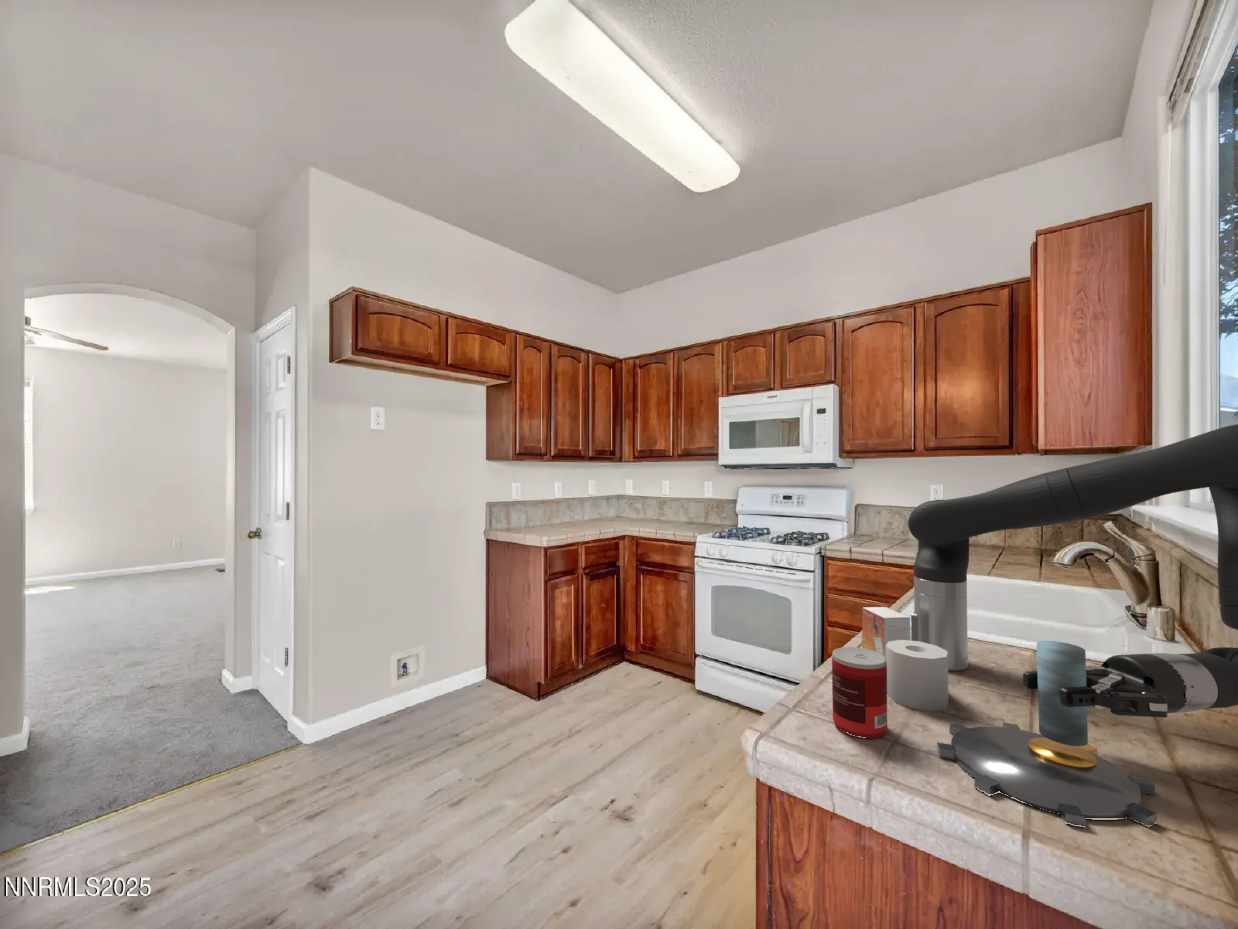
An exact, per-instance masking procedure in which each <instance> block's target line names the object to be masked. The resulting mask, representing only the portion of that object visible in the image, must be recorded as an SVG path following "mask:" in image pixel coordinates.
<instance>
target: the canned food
mask: <svg viewBox="0 0 1238 929" xmlns="http://www.w3.org/2000/svg"><path fill="white" fill-rule="evenodd" d="M831 677H832V678H831V682H832V684H831V687H832V688H831V690H832V693H831V694H832V696H831V697H832V698H831V699H832V701H831V702H832V720H833V723H835V724H834V725H836V726H837V727H838V728H839V729H841V730H842V731H844V732H848V733H849V734H852V735H855V736H861V737H866V738H876V739H878V738H877V737H879V738H881V737H880V736H882V737H883V736H884V735H885V734H886V732H887V729H888V696H887V662H886V658H885V657H884V656H883V655H882V654H880V653H878V652H875V651H872V650H869V649H864V648H862V647H858V646H857V647H856V646H846V647H845V646H843V647H839V648H835V649H834V650H833V651H832V654H831ZM836 726H835V727H836ZM837 727H836V728H837ZM838 728H837V729H838ZM839 729H838V730H839ZM841 730H840V731H841ZM842 731H841V732H842ZM844 732H843V733H844Z"/></svg>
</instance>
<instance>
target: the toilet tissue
mask: <svg viewBox="0 0 1238 929" xmlns="http://www.w3.org/2000/svg"><path fill="white" fill-rule="evenodd" d="M886 662H887V695H888V696H887V698H889V697H890V698H892V700H891V701H893V700H894V701H893V702H894V703H895V702H897V703H899V704H898V705H900V704H901V706H903V705H905V706H904V707H906V706H907V708H909V709H912V710H917V711H925V712H926V711H927V712H938V711H942V710H947V709H948V708H949V707H948V706H949V697H950V692H949V691H950V690H949V689H950V688H949V670H948V651H946V650H944V649H942V648H940V647H938V646H936V645H932V644H928V643H924V642H919V641H911V640H910V641H909V640H896V641H889V642H888V643H887V645H886ZM890 698H889V699H890ZM897 703H896V704H897Z"/></svg>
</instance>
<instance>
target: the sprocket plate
mask: <svg viewBox="0 0 1238 929" xmlns="http://www.w3.org/2000/svg"><path fill="white" fill-rule="evenodd" d="M948 726H949V730H948V731H949V734H950V733H951V734H950V735H952V734H953V736H952V737H951V744H950V743H949V744H948V743H944V742H943V743H942V742H936V744H937V745H936V752H937V754H938V757H939V758H940V757H941V759H945V758H948V759H947V760H951V759H954V760H953V761H954V762H955V761H956V762H957V763H958V764H957V763H956V762H955V763H956V764H957V765H958V766H960V767H961V768H960V767H959V768H960V769H961V770H962V771H963V772H965V773H966V774H967V773H968V774H970V775H971V776H972V777H974V778H975V779H974V778H973V779H974V788H975V787H978V788H979V789H980V790H983V791H985V792H986V793H988V794H994V793H996V792H998V791H1000V792H1001V793H1003V794H1006V795H1008V796H1009V797H1014V798H1016V799H1018V800H1020V801H1023V802H1025V803H1027V804H1030V805H1032V806H1034V807H1037V808H1041V809H1044V810H1047V811H1051V812H1054V813H1059V814H1060V815H1061V817H1062V818H1063V820H1064V821H1065V822H1067V823H1071V824H1074V825H1081V826H1086V827H1087V821H1086V818H1126V817H1127V819H1128V818H1132V819H1134V820H1136V821H1138V822H1140V823H1143V824H1144V825H1148V826H1149V825H1153V824H1154V823H1155V822H1157V823H1158V813H1157V812H1156V811H1153V810H1151V809H1149V808H1148V807H1144V806H1143V805H1142V795H1147V794H1150V795H1149V796H1154V795H1155V796H1156V794H1155V793H1156V787H1155V785H1154V784H1153V783H1152V781H1150V779H1148V778H1147V777H1144V776H1137V775H1133V774H1128V773H1127V772H1126V771H1125V770H1123V769H1122V768H1120V767H1118V766H1117V765H1116V764H1114V763H1112V762H1111V761H1109V760H1108V759H1106V758H1104V757H1102V756H1100V755H1098V747H1095V746H1092V745H1090V744H1089V743H1088V744H1087V745H1085V746H1070V745H1065V744H1061V743H1058V742H1055V741H1052V740H1050V739H1048V738H1046V737H1044V736H1043V735H1041V734H1040V733H1037V732H1032V731H1028V730H1023V729H1021V728H1020V726H1019V725H1018V724H1016V723H1009V722H1002V726H988V725H987V726H974V727H972V726H971V727H967V726H966V725H963V724H961V723H959V722H955V723H952V724H948ZM968 774H967V775H968ZM970 775H969V776H970ZM971 776H970V777H971ZM972 777H971V778H972ZM1142 793H1143V794H1142ZM1155 796H1154V797H1155ZM1034 807H1033V808H1034ZM1037 808H1036V809H1037ZM1047 811H1046V812H1047ZM1051 812H1050V813H1051ZM1054 813H1053V814H1054ZM1061 817H1060V818H1061ZM1063 820H1062V821H1063Z"/></svg>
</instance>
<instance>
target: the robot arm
mask: <svg viewBox="0 0 1238 929" xmlns="http://www.w3.org/2000/svg"><path fill="white" fill-rule="evenodd" d="M1206 488H1208V489H1209V492H1210V496H1211V499H1212V502H1213V505H1214V506H1213V507H1214V510H1215V511H1214V512H1215V516H1216V523H1217V584H1218V587H1217V588H1218V600H1219V611H1220V618H1221V621H1222V622H1223V624H1224V625H1225V626H1226V627H1229V628H1231V629H1233V630H1236V631H1238V423H1237V424H1236V423H1235V424H1232V425H1231V424H1230V425H1226V426H1223V427H1218V428H1217V429H1216V428H1215V429H1213V430H1209V431H1208V432H1204V433H1202V434H1199V435H1195V436H1192V437H1190V438H1185V439H1183V440H1179V441H1176V442H1174V443H1170V444H1167V445H1163V446H1160V447H1156V448H1153V449H1150V450H1145V451H1142V452H1137V453H1132V454H1128V455H1127V454H1126V455H1120V456H1115V457H1110V458H1105V459H1100V460H1097V461H1092V462H1088V463H1083V464H1078V465H1073V466H1069V467H1065V468H1064V467H1063V468H1061V469H1057V470H1053V471H1048V472H1044V473H1040V474H1037V475H1034V476H1029V477H1026V478H1024V479H1020V480H1016V481H1015V482H1011V483H1008V484H1005V485H1003V486H1000V487H997V488H994V489H992V490H988V491H986V492H982V493H979V494H973V495H968V496H962V497H957V498H949V499H934V500H928V501H925V502H922V503H920V504H919V505H918V506H916V507H915V508H914V509H913V510H912V512H911V513H910V514H909V517H908V521H907V525H908V526H907V527H908V530H909V532H910V534H911V535H912V537H914V539H915V540H917V542H918V543H917V554H916V559H915V561H914V564H913V600H914V602H913V603H914V604H913V605H914V607H913V613H911V615H910V641H919V642H924V643H928V644H932V645H936V646H938V647H940V648H942V649H944V650H946V651H948V671H963V670H966V669H968V667H969V665H968V664H969V663H968V662H969V655H968V651H969V650H968V646H969V645H968V643H969V641H968V591H967V590H968V589H967V588H968V586H967V585H968V569H969V563H970V538H973V537H975V536H976V537H978V536H981V535H985V534H989V533H993V532H998V531H1000V532H1001V531H1007V530H1008V531H1009V530H1019V529H1030V528H1037V527H1045V526H1053V525H1059V524H1065V523H1071V522H1078V521H1081V520H1088V519H1092V518H1093V519H1094V518H1098V517H1101V516H1105V515H1109V514H1112V513H1115V512H1119V511H1121V510H1124V509H1127V508H1129V507H1130V508H1131V507H1133V506H1137V505H1138V504H1141V503H1144V502H1147V501H1149V500H1152V499H1156V498H1158V497H1162V496H1165V495H1170V494H1174V493H1180V492H1186V491H1193V490H1201V489H1206ZM1022 685H1023V687H1025V688H1026V689H1029V690H1038V673H1037V670H1032V671H1031V670H1029V671H1024V672H1023V674H1022ZM1060 702H1061V704H1062V705H1064V706H1067V707H1082V706H1087V707H1093V708H1095V709H1098V710H1105V709H1109V711H1110V713H1111V714H1113V715H1116V716H1124V717H1125V716H1128V717H1129V716H1130V717H1145V718H1146V717H1148V718H1149V717H1150V718H1164V719H1166V718H1168V714H1177V713H1178V714H1179V713H1190V712H1195V711H1198V710H1204V709H1209V710H1210V709H1224V708H1231V707H1234V706H1236V707H1237V706H1238V647H1233V646H1232V647H1230V646H1229V647H1226V646H1221V647H1218V646H1217V647H1213V648H1209V649H1205V650H1203V651H1198V652H1196V653H1194V652H1193V653H1175V654H1174V653H1165V652H1157V653H1156V652H1154V653H1152V652H1150V653H1132V654H1131V653H1130V654H1117V655H1111V656H1110V657H1108V658H1107V659H1106V660H1104V662H1103V663H1102V664H1101V665H1090V664H1089V665H1086V687H1070V688H1062V689H1061V690H1060Z"/></svg>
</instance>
